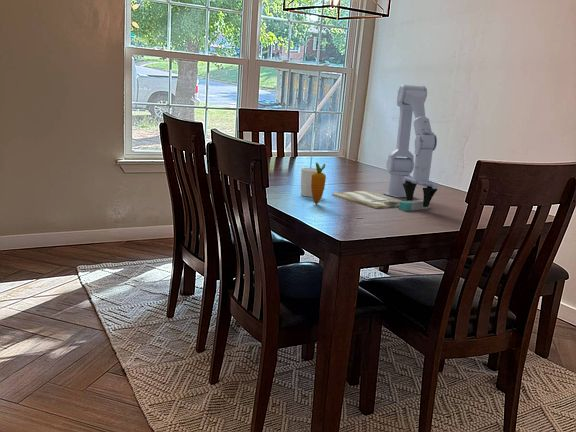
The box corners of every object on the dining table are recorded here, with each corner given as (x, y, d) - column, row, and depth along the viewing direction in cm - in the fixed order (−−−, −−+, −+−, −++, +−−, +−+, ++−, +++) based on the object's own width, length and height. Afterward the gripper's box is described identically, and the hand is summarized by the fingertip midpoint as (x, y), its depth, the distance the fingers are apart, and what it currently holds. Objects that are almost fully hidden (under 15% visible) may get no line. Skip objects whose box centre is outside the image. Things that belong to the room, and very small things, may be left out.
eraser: (424, 206, 199) (425, 199, 199) (431, 208, 197) (432, 201, 196) (398, 209, 191) (399, 201, 190) (405, 211, 189) (406, 203, 188)
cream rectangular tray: (365, 192, 218) (365, 188, 218) (410, 205, 200) (410, 200, 199) (332, 195, 208) (332, 190, 207) (376, 208, 189) (376, 203, 189)
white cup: (302, 197, 200) (304, 170, 197) (296, 192, 207) (298, 167, 205) (322, 197, 202) (324, 171, 200) (315, 193, 209) (318, 168, 207)
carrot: (322, 203, 192) (326, 162, 188) (324, 206, 187) (327, 164, 183) (308, 202, 191) (312, 161, 188) (309, 205, 186) (313, 163, 183)
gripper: (399, 164, 194) (395, 201, 197) (431, 171, 183) (425, 209, 186) (412, 164, 198) (407, 199, 202) (444, 170, 187) (438, 208, 190)
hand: (417, 204), depth 194 cm, fingers open, 7 cm apart
